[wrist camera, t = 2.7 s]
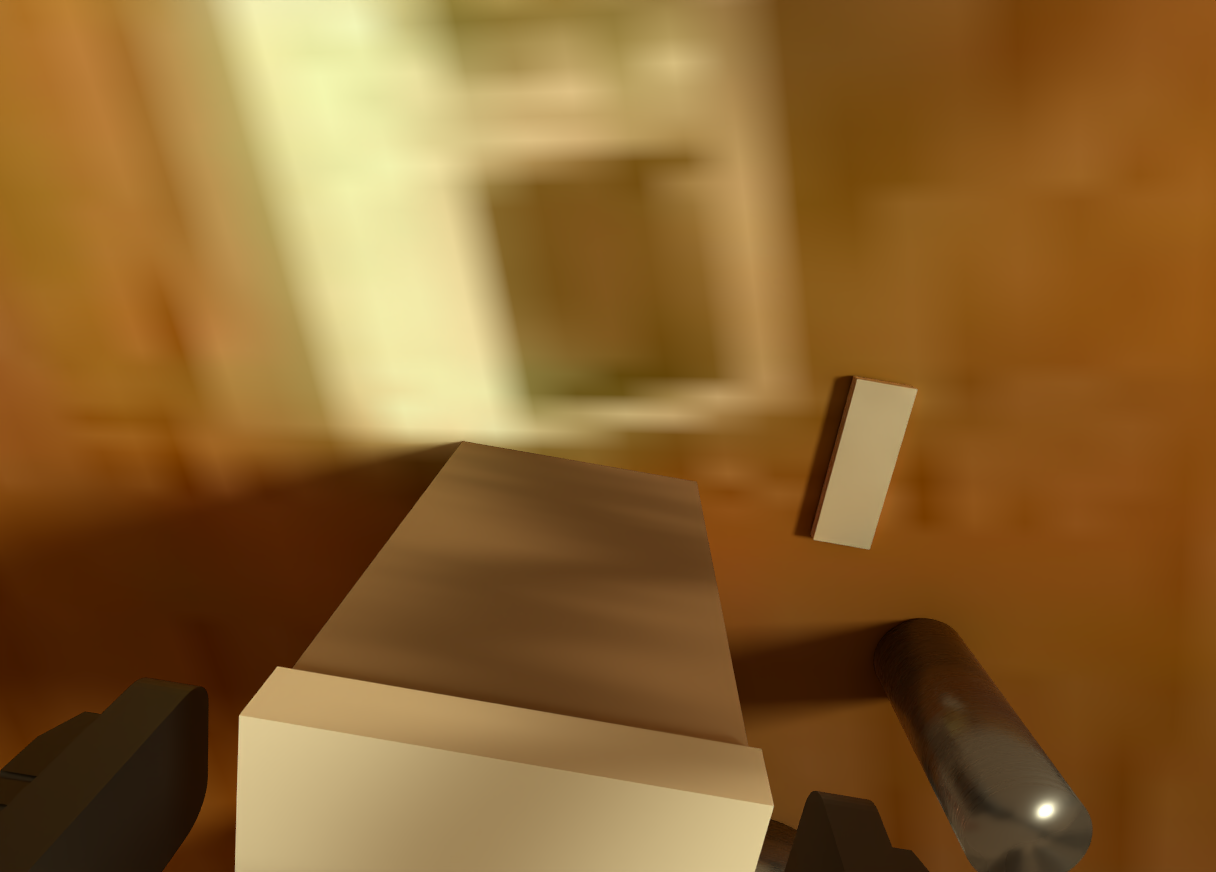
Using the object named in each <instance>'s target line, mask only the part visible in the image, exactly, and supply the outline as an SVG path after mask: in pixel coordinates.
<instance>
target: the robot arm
mask: <svg viewBox="0 0 1216 872" xmlns="http://www.w3.org/2000/svg"><path fill="white" fill-rule="evenodd" d="M207 779H208V694H207V692H206V690H205V689H204V688H203V687H200V686H194V685H188V684H182V683H176V682H170V681H164V680H158V679H152V678H141V679H139V680H137V681H136V682H134V683H133V684H132V685H131V686H130V687H129V688H128V689H127V690H126V691H125V692H124V693H123V694H121V695H120V696H119V697H118V698H117V699H116V700H115V701H114V702H113V703H112V704H111V705H110V706H109V707H108V708H107V709H106V710H105V711H104V712H103V713H102V714H97V713H91V712H83V713H81V714H79V715H78V716H76V717H74V718H72V719H70V720H68V721H66V722H64V723H63V724H61V725H59V726H57V727H55V728H53V729H51V730H49V731H48V732H46V733H44V734H42V735H40V736H38V737H37V738H36V739H35V740H33V741H32V742H31V743H30V744H29V745H28V746H27V747H26V748H25V749H23V750H22V751H21V752H20V753H19V754H18V755H17V756H16V757H15V758H14V759H12V760H11V761H10V762H9V763H8V764H7V765H6V766H5V767H4V768H2V769H1V771H0V872H162V871H163V869H164V868H165V867H166V865H167V864H168V862H169V861H170V860H171V858H172V857H173V855H174V854H175V852H176V851H177V850H178V848H179V847H180V845H181V844H182V842H183V841H184V840H185V838H186V837H187V835H188V834H189V832H190V830H191V829H192V827H193V825H194V823H195V821H196V819H197V817H198V814H199V812H200V809H201V807H202V804H203V800H204V797H205V793H206V788H207ZM784 872H929V871H928V870H927V868H926V867H925V866H924V865H923V864H922V862H921V861H920V860H919V859H918V858H917V856H916V855H915V854H914V853H913V852H912V851H911V850H905V849H899V848H893V847H892V846H891V843H890V840H889V838H888V835H887V833H886V830H885V828H884V825H883V823H882V820H881V818H880V815H879V812H878V810H877V808H876V806H875V805H874V803H873V802H872V801H870V800H867V799H861V798H855V797H849V796H843V795H837V794H831V793H825V792H819V791H813V792H811V793H810V795H809V796H808V798H807V800H806V803H805V806H804V809H803V813H802V816H801V819H800V822H799V826H798V829H797V832H796V835H795V838H794V842H793V845H792V848H791V851H790V854H789V858H788V861H787V864H786V867H785V870H784Z"/></svg>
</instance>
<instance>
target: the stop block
mask: <svg viewBox="0 0 1216 872" xmlns="http://www.w3.org/2000/svg"><path fill="white" fill-rule="evenodd" d="M773 807H774V804H773V800H772V795H771V791H770V786H769V781H768V777H767V772H766V768H765V763H764V759H763V754H762V749H758V748H752V747H748V742H747V737H746V732H745V727H744V721H743V716H742V711H741V706H740V701H739V696H738V691H737V686H736V681H735V675H734V670H733V665H732V660H731V655H730V650H729V645H728V640H727V635H726V629H725V624H724V619H723V614H722V609H721V604H720V599H719V594H718V588H717V583H716V578H715V573H714V568H713V563H712V558H711V553H710V548H709V542H708V537H707V532H706V527H705V522H704V517H703V512H702V507H701V501H700V496H699V491H698V486H697V482H695V481H689V480H683V479H677V478H672V477H666V476H660V475H654V474H649V473H643V472H637V471H631V470H626V469H620V468H614V467H608V466H603V465H597V464H591V463H585V462H580V461H574V460H568V459H562V458H557V457H551V456H545V455H539V454H534V453H528V452H522V451H516V450H511V449H505V448H499V447H493V446H488V445H482V444H476V443H470V442H465V441H462V442H461V444H460V445H459V446H458V448H457V449H456V450H455V452H454V453H453V454H452V456H451V457H450V458H449V460H448V461H447V462H446V464H445V465H444V466H443V468H442V469H441V470H440V472H439V473H438V474H437V476H436V477H435V478H434V480H433V481H432V482H431V484H430V485H429V486H428V488H427V489H426V490H425V492H424V493H423V494H422V496H421V497H420V498H419V500H418V501H417V502H416V504H415V505H414V506H413V508H412V509H411V510H410V512H409V513H408V514H407V516H406V517H405V518H404V520H403V521H402V522H401V524H400V525H399V526H398V528H397V529H396V530H395V532H394V533H393V534H392V536H391V537H390V538H389V540H388V541H387V543H386V544H385V545H384V547H383V548H382V549H381V551H380V552H379V553H378V555H377V556H376V557H375V559H374V560H373V561H372V563H371V564H370V565H369V567H368V568H367V569H366V571H365V572H364V573H363V575H362V576H361V577H360V579H359V580H358V581H357V583H356V584H355V585H354V587H353V588H352V589H351V591H350V592H349V593H348V595H347V596H346V597H345V599H344V600H343V601H342V603H341V604H340V605H339V607H338V608H337V609H336V611H335V612H334V613H333V615H332V616H331V617H330V619H329V620H328V621H327V623H326V624H325V625H324V627H323V628H322V629H321V631H320V632H319V633H318V635H317V636H316V637H315V639H314V640H313V641H312V643H311V644H310V645H309V647H308V648H307V649H306V651H305V652H304V653H303V655H302V656H301V657H300V659H299V660H298V661H297V663H296V664H295V665H294V667H293V668H292V669H290V668H284V667H278V666H277V668H276V669H275V670H274V671H273V673H272V674H271V675H270V676H269V678H268V679H267V680H266V682H265V683H264V684H263V685H262V687H261V688H260V689H259V690H258V692H257V693H256V694H255V696H254V697H253V698H252V699H251V701H250V702H249V703H248V705H247V706H246V707H245V708H244V710H243V711H242V712H241V713H240V715H239V739H238V776H237V812H236V849H235V872H755V869H756V866H757V863H758V859H759V856H760V852H761V849H762V845H763V842H764V838H765V835H766V832H767V828H768V825H769V821H770V818H771V814H772V811H773Z"/></svg>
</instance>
